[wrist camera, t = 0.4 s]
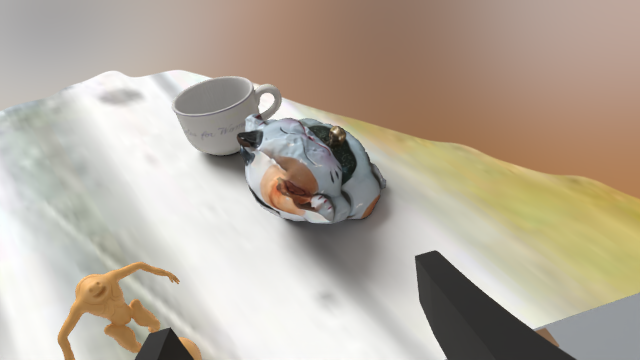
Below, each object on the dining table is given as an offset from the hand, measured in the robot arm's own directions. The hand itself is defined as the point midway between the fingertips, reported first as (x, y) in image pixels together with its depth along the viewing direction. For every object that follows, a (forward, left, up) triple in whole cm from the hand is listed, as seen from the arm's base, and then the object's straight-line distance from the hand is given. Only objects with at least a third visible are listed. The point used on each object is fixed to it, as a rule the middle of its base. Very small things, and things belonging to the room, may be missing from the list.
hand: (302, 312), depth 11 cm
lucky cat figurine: (+24, -5, -20) cm, 32 cm away
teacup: (+40, +3, -20) cm, 45 cm away
